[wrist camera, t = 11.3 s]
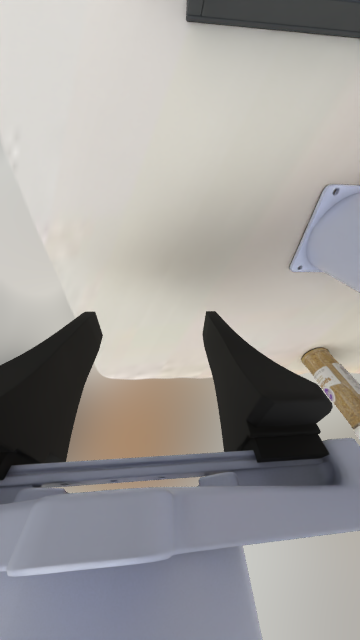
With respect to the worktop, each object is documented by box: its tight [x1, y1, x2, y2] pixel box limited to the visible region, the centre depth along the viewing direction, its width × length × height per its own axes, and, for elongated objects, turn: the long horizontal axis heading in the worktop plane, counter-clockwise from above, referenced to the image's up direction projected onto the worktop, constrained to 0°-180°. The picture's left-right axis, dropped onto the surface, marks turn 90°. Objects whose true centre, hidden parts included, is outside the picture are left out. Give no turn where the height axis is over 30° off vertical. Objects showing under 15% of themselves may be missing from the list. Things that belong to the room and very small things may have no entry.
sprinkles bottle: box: [302, 348, 360, 440], centre depth 26 cm, size 5×5×14 cm
